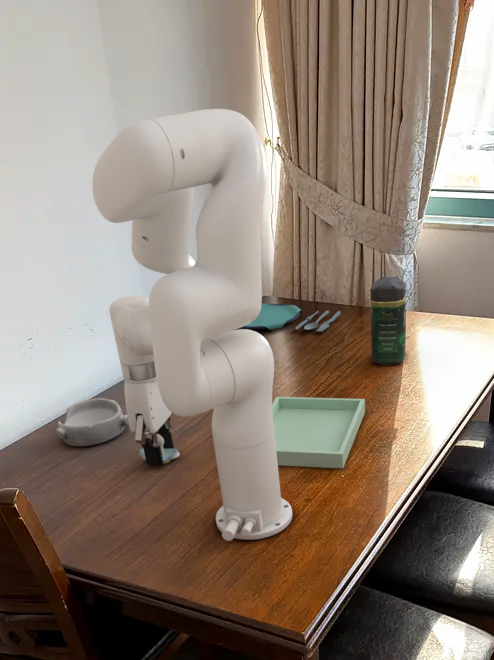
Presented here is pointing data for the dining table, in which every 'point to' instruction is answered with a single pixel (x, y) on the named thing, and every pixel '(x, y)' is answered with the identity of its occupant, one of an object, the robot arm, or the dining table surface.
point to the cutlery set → (285, 317)
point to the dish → (92, 422)
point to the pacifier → (163, 450)
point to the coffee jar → (388, 320)
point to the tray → (315, 430)
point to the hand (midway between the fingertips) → (160, 456)
